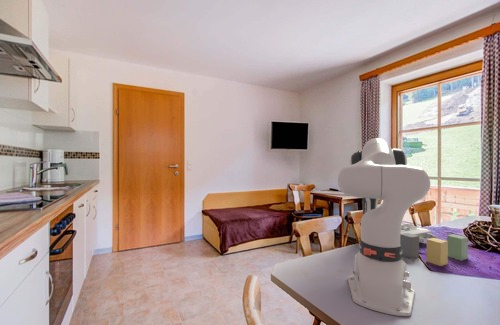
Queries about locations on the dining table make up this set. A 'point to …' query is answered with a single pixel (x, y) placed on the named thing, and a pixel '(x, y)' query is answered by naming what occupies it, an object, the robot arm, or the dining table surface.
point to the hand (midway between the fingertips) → (431, 239)
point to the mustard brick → (437, 251)
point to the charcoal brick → (409, 245)
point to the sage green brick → (457, 247)
